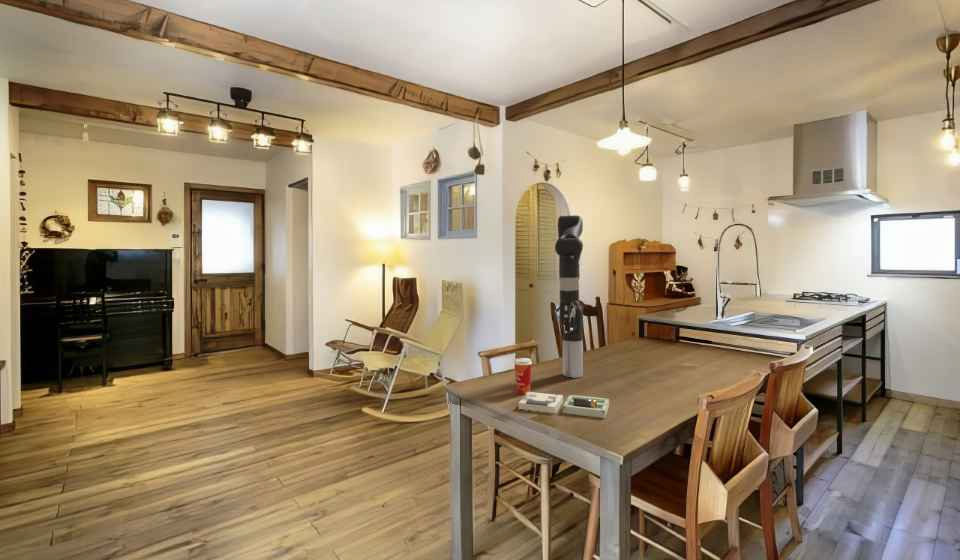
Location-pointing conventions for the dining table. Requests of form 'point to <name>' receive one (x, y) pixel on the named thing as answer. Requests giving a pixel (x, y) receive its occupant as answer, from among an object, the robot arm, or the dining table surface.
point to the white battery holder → (541, 402)
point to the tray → (584, 411)
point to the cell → (585, 403)
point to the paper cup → (523, 375)
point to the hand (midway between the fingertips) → (569, 329)
